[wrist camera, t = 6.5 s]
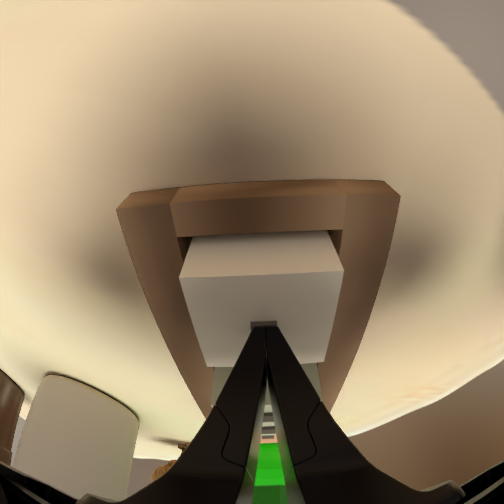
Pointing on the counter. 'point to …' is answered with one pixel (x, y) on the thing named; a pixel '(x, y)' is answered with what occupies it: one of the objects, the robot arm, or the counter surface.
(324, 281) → the tile one pip
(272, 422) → the tile two pips
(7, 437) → the plant pot
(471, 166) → the counter surface
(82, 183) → the counter surface
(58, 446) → the cylinder vase
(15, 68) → the counter surface
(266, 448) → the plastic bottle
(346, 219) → the walnut board
